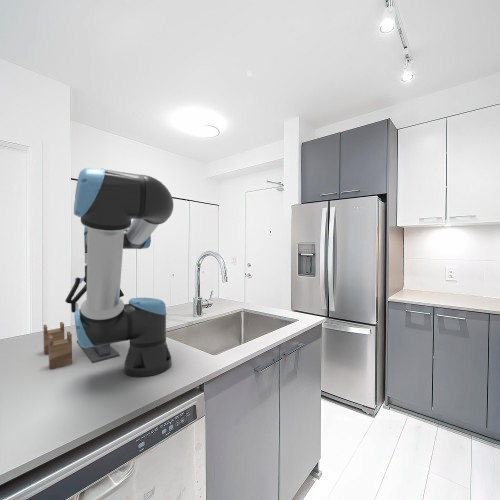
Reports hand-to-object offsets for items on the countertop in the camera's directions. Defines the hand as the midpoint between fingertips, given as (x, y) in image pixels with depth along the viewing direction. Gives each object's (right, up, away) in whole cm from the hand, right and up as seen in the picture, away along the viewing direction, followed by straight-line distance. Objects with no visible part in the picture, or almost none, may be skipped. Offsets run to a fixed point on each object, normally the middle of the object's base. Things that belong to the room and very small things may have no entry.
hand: (96, 317), depth 107 cm
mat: (0, -13, +1) cm, 13 cm away
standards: (-10, -13, -8) cm, 18 cm away
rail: (0, -12, +1) cm, 12 cm away
